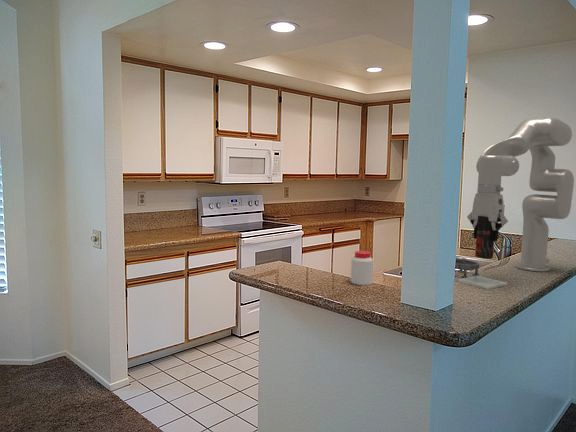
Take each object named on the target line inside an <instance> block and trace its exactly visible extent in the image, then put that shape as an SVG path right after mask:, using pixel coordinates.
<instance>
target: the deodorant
mask: <svg viewBox="0 0 576 432" xmlns="http://www.w3.org/2000/svg"><path fill="white" fill-rule="evenodd" d="M491 230H493V229H492V225H491V222H490V221H489V218H488V217H485V216H478V222H477V236H476V239H475V240H476V241H475V253H474V255H475V256H474V257H476V258H479V259H490V260H491V259H493V258H494V247H495V241H490V237H491Z"/></svg>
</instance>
